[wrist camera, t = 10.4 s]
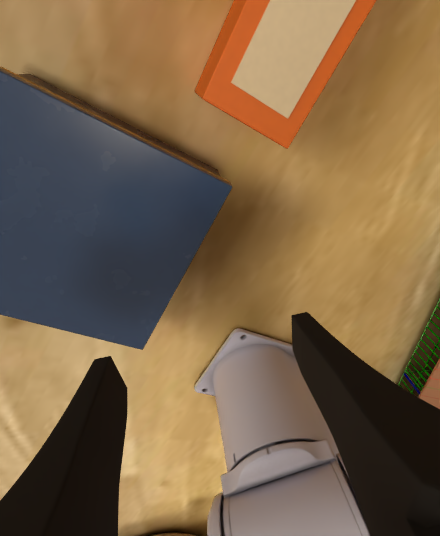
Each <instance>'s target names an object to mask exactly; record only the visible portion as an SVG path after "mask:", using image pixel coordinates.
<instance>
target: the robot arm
mask: <svg viewBox="0 0 440 536" xmlns="http://www.w3.org/2000/svg"><path fill="white" fill-rule="evenodd" d="M242 335H245V336H242ZM194 388H195V391H196V392H198V393H203V394H208V395H212V396H215V397H216V403H217V410H218V416H219V422H220V428H221V435H222V441H223V447H224V453H225V460H226V466H227V473H225V474H223V475H221V481H222V489H223V493H220V494H218V495H216V496H215V498H214V500H213V502H212V506H211V509H210V511H209V515H208V522H207V536H440V409H438V408H436V407H435V406H433V405H431V404H429V403H427V402H426V401H424V400H422V399H420V398H418V397H417V396H415V395H413V394H411V393H410V392H408V391H407V390H405V389H403V388H402V387H400V386H399V385H397V384H395V383H394V382H392V381H391V380H389V379H388V378H386V377H385V376H383V375H382V374H380V373H379V372H378V371H376V370H375V369H373V368H372V367H371V366H369V365H368V364H367V363H365V362H364V361H363V360H361V359H360V358H359V357H357V356H356V355H355V354H354V353H352V352H351V351H350V350H349V349H348V348H346V347H345V346H344V345H343V344H342V343H340V342H339V341H338V340H337V339H336V338H335V337H333V336H332V335H331V334H330V333H329V332H328V331H327V330H326V329H325V328H323V327H322V326H321V325H320V324H319V323H318V322H317V321H316V320H315V319H314V318H313V317H312V316H311V315H310V314H309V313H307V312H305V313H300V314H296V315H292V344H288V343H285V342H282V341H279V340H276V339H272V338H269V337H266V336H263V335H259V334H256V333H253V332H250V331H246V330H243V329H239V328H238V329H235V330H233V331H232V333H231V334H230V336H229V337H228V338H227V340H226V341H225V343H224V344H223V346H222V347H221V348H220V350H219V351H218V353H217V354H216V356H215V357H214V358H213V360H212V361H211V363H210V364H209V366H208V367H207V368H206V370H205V371H204V373H203V374H202V376H201V377H200V378H199V380H198V381H197V383H196V384H195V386H194ZM126 421H127V387H126V385H125V383H124V381H123V379H122V377H121V375H120V373H119V371H118V369H117V367H116V366H115V364H114V362H113V360H112V358H111V356H108V357H104V358H99V359H95V360H94V361H93V363H92V365H91V367H90V368H89V370H88V372H87V374H86V376H85V378H84V379H83V381H82V383H81V385H80V386H79V388H78V390H77V392H76V394H75V395H74V397H73V399H72V400H71V402H70V404H69V405H68V407H67V409H66V411H65V412H64V414H63V416H62V417H61V419H60V420H59V422H58V423H57V425H56V427H55V428H54V430H53V431H52V433H51V434H50V436H49V437H48V439H47V440H46V442H45V443H44V445H43V446H42V448H41V449H40V450H39V452H38V453H37V455H36V456H35V457H34V459H33V460H32V462H31V463H30V464H29V466H28V467H27V468H26V470H25V471H24V472H23V473H22V475H21V476H20V477H19V479H18V480H17V481H16V482H15V484H14V485H13V486H12V487H11V488H10V490H9V491H8V492H7V493H6V495H5V496H4V497H3V498H2V499H1V501H0V536H118V502H119V482H120V471H121V463H122V455H123V447H124V439H125V430H126Z"/></svg>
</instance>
